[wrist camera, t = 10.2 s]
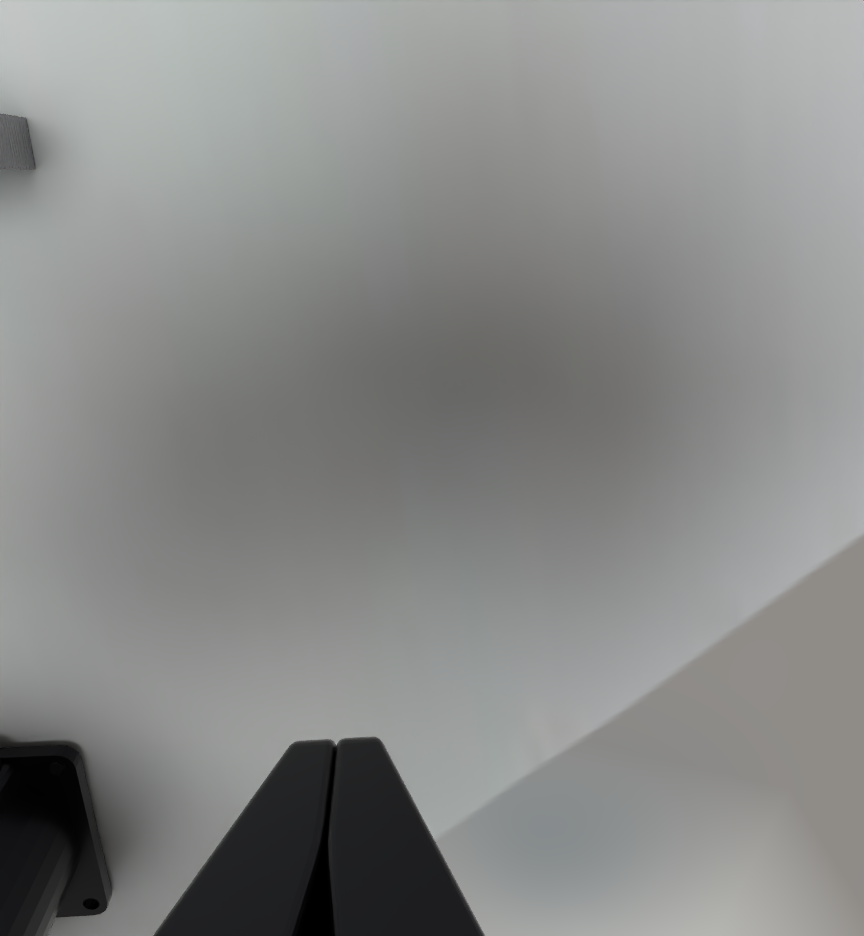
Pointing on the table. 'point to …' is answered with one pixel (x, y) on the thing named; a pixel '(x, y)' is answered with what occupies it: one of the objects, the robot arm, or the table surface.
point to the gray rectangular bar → (15, 143)
